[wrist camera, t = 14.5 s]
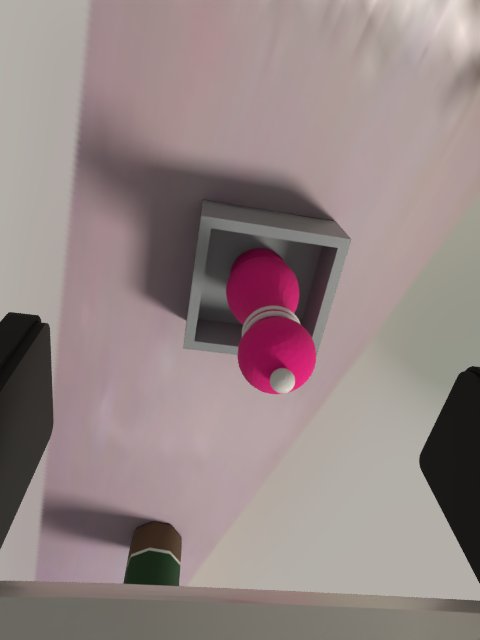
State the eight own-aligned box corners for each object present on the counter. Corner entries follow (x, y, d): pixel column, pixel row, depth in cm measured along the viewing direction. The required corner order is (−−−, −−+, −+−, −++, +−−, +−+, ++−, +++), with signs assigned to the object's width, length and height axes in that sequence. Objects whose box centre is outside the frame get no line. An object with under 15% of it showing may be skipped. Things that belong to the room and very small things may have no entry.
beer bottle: (179, 518, 68) (164, 718, 47) (185, 551, 71) (173, 750, 50) (127, 522, 68) (88, 724, 46) (135, 555, 71) (102, 757, 50)
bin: (202, 199, 46) (201, 215, 40) (335, 221, 47) (351, 239, 42) (186, 320, 52) (183, 348, 47) (304, 335, 54) (314, 364, 49)
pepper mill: (243, 315, 51) (258, 441, 33) (213, 261, 48) (213, 370, 30) (302, 288, 50) (350, 405, 32) (275, 231, 47) (313, 326, 29)
